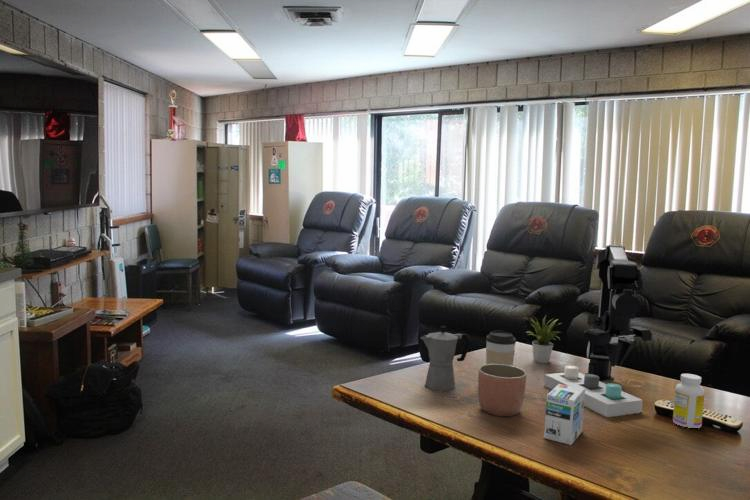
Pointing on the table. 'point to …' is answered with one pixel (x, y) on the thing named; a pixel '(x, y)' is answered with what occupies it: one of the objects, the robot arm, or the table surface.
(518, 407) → the planter
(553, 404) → the light bulb box
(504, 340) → the coffee cup
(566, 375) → the key ivory
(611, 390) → the key teal
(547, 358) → the house plant
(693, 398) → the supplement bottle
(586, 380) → the key charcoal
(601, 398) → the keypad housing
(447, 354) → the coffeepot
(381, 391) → the table surface
